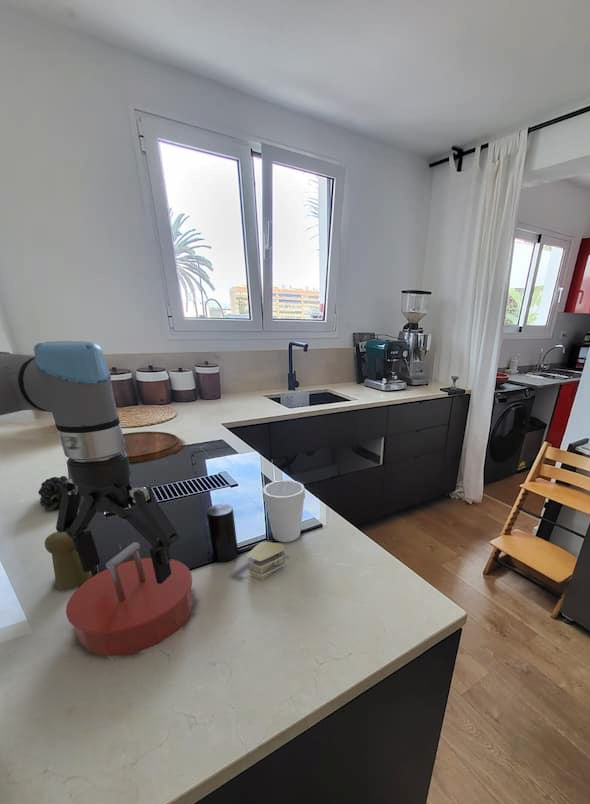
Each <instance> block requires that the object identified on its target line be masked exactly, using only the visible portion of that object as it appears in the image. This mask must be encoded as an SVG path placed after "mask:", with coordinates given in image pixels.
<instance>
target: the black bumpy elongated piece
mask: <svg viewBox="0 0 590 804" xmlns="http://www.w3.org/2000/svg"><path fill="white" fill-rule="evenodd" d="M69 479H70V478H68V477H67V476H66V475H61V476H60V477H59V476H53V477H50V478H46V479H45V480H44V481H43V482H41V484H40V485H41V486H40V488H39V490H38V492H37V493H38V495H39V496H40V498H39V500H40V501H39V505H40V506H41V507H45V508H46V509H47V510H49V511H53V510H55V508H56V509H59V508H60V502H61V497H62V495H61V490H60V483H62V482H65V481H67V480H69Z"/></svg>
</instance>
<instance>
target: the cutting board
mask: <svg viewBox="0 0 590 804" xmlns="http://www.w3.org/2000/svg"><path fill="white" fill-rule="evenodd" d="M123 437H124V441H125V445H126V447H125V449H124V451H125V452H126V453H127V455H128V459H129V464H135V463H136V464H137V463H143V462H147V461H148V462H149V461H153V460H156V459H160V458H163V457H166V456H169V455H175V454H176V453H178V452H179V451H180V450H182V448H183V442H182V440H181V439H180V438H179V437H178V436H177V435H176V434H174V433H170V432H164V431H134V432H126V433H123Z"/></svg>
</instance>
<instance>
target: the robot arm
mask: <svg viewBox="0 0 590 804" xmlns="http://www.w3.org/2000/svg"><path fill="white" fill-rule="evenodd" d="M33 353H34V355H32V354H20V353H11V352H8V351H0V417H1V416H4V415H5V416H6V415H8V414H12V413H18V412H22V411H37V412H48V413H51V414H52V417H53V420H54V424H55V429H56V430H57V433H58V437H59V440H60V444H61V447H62V451H63V455H64V456H65V457H66V458H68V459H67V460H66V465H67V469H68V471H69V475H70V478H68V479H69V480H67V481H65V482H62V483H60V490H61V495H62V497H61V502H60V508H58V513H57V520H56V525H55V530H56V532H60V533H62V532H66V533H67V535H68V536H69V537H71V539H72V542H73V544H74V548H75V550H76V552H78V555H79V558H80V561H81V564H82V567H83V570H84V572H89V571H92V570H93V569H95V568H96V567H97V566H99V565H100V564H101V559H100V557H99V553H98V550H97V546H96V542H95V539H94V536H93V532H92V530H88V528H89V524H90V523H91V521H92V520H93V518H94V517H95V515H96V514H97V513H108V514H111V515H117V516H118V517H119V519H120V518H121V519H122V520H126V521H127V522H128V523H129V524H130V526H132V527H133V528H134V530H136V531H137V532H138V533H139V534H140V535H141V536H142V537H143V538H144V539H145V540H146V541H147V542H148V543H149V544H150V545H151V548H150V549H149V553H150V558H152V563H153V567H154V572H155V576H156V581H157V583H158V584H162V583H163V582H164V581H165V580H166V579H167V578H168V577H169V576H170V575H171V574H172V573H171V568H170V564H169V562H170V561H171V559H173V557H172V553H171V547H172V546H173V545H174V544H176V542H178V540H180V538H181V536H180V534H179V533H178V530H176V528H175V526H173V524H172V522H171V521H170V519H169V518H168V516H167V515H166V513H165V512H164V510H163V509H162V507H161V505H160V504H159V503H158V501H157V500H156V498H155V495H154V491H153V489H152V487H151V486H150V485H149V484H145V485H143V486H142V487H133V485H132V484H131V482H130V478H131V474H132V468H131V465H130V464H131V463H129V459H128V455H127V453H126V452H125V451H124V449H125V447H126V445H125V441H124V437H123V434H124V433H123V429H122V425H121V422H120V418H119V413H118V409H117V408H118V407H117V405H116V400H115V395H114V390H113V389H114V388H113V385H112V375H111V372H110V371H109V368H108V367H109V366H108V364H107V361H106V358H105V354H104V351H103V349H102V348H101V346H99V344H97V343H95V342H92V341H86V340H77V341H76V340H75V341H74V340H56V341H54V340H53V341H44V342H43V341H42V342H39V343H37V344H35V345H34V347H33ZM82 497H83V498H84V499H83V502H82V504H81V505H80V502H81V498H82ZM129 506H130V507H129ZM128 507H129V508H128ZM127 508H128V509H127ZM86 529H87V530H86Z"/></svg>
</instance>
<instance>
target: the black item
mask: <svg viewBox="0 0 590 804" xmlns="http://www.w3.org/2000/svg"><path fill="white" fill-rule="evenodd" d="M206 516H207V523H208V531H209V536H210V543H211V550H212V557H213V560H214V561H215V562H218V563H228V562H233V561H234V560H235V559H236V558H238V556H239V549H238V540H237V532H236V524H235V515H234V508H233V506H232V505H230V504H228V503H219V504H215V505H212V506H210V507H209V508H207V509H206Z"/></svg>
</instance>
